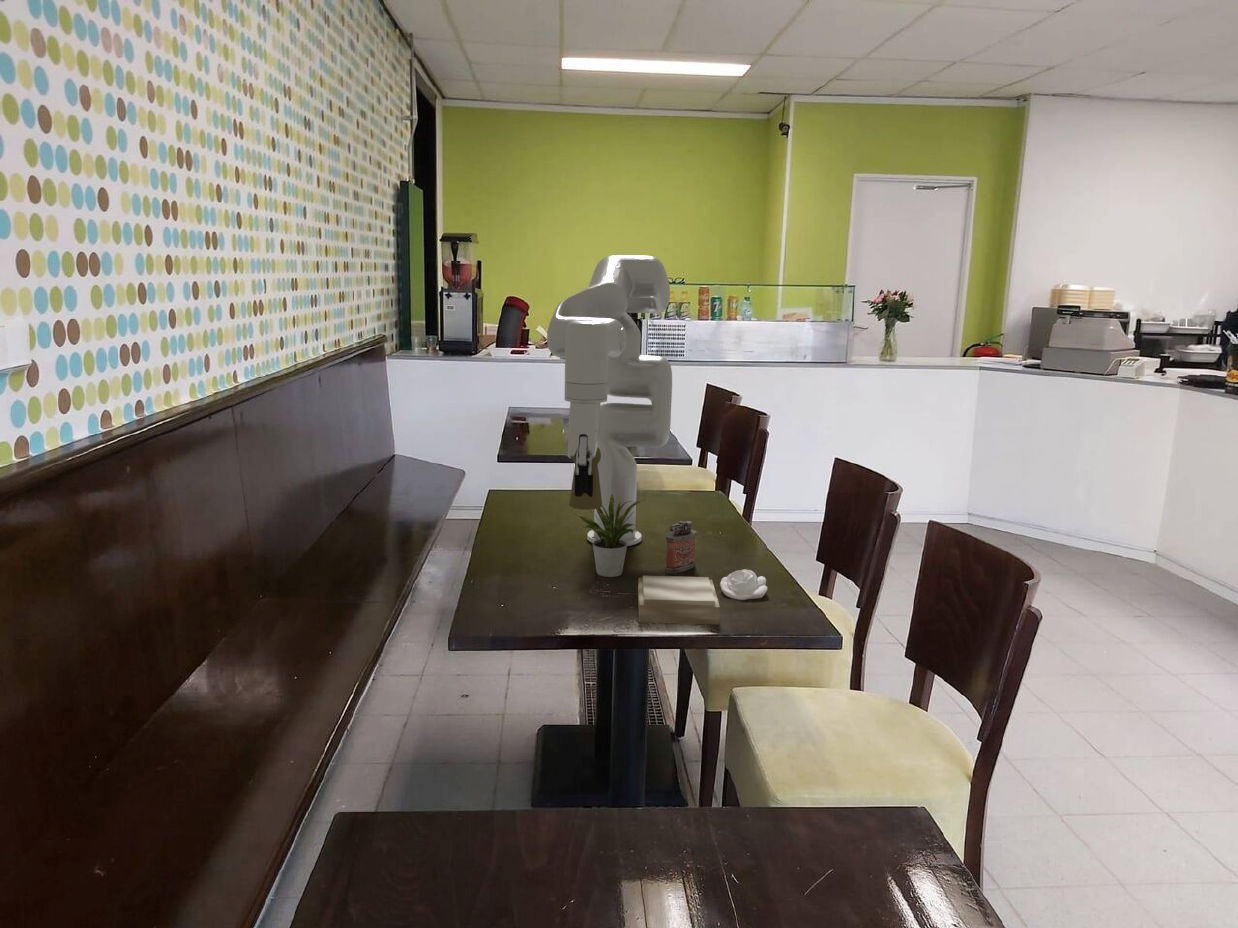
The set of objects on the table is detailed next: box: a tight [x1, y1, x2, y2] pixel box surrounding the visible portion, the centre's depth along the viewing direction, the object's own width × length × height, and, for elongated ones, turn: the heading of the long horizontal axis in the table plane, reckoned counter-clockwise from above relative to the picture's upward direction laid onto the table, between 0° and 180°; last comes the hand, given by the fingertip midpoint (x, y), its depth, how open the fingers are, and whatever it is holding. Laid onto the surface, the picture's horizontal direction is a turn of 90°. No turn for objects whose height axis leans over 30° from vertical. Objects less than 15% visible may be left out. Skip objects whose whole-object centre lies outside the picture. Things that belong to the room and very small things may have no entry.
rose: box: [719, 569, 768, 601], centre depth 167 cm, size 10×4×10 cm
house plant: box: [573, 495, 648, 578], centre depth 175 cm, size 14×14×16 cm
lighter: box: [664, 520, 697, 574], centre depth 179 cm, size 8×3×10 cm, turn 135°
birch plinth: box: [637, 575, 721, 625], centre depth 157 cm, size 14×14×4 cm
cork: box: [568, 448, 602, 511], centre depth 155 cm, size 6×6×11 cm
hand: (584, 492), depth 155 cm, fingers closed on cork, 3 cm apart
